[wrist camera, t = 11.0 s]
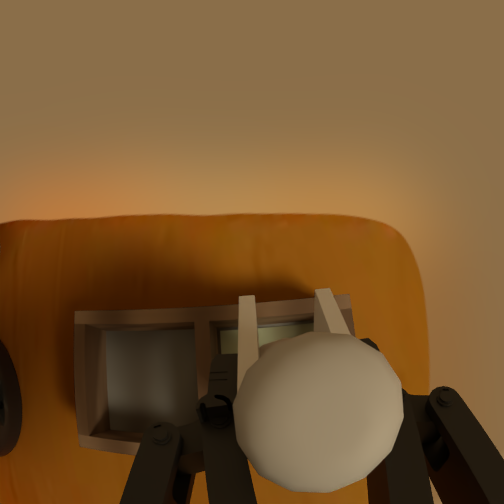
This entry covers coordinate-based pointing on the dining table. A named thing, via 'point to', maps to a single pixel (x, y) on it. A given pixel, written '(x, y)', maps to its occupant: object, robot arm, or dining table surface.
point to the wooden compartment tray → (163, 363)
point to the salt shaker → (318, 411)
